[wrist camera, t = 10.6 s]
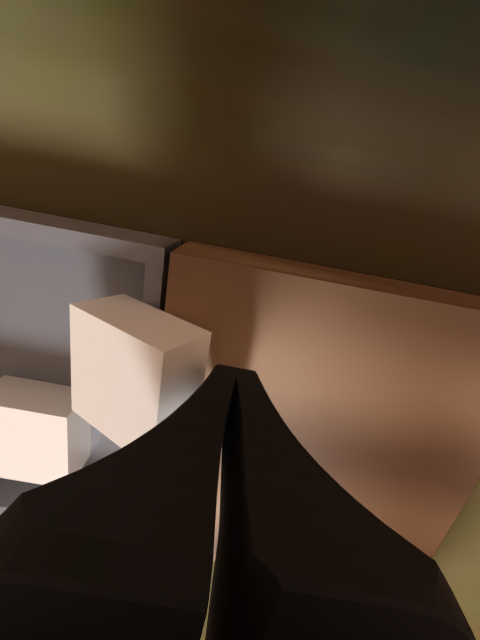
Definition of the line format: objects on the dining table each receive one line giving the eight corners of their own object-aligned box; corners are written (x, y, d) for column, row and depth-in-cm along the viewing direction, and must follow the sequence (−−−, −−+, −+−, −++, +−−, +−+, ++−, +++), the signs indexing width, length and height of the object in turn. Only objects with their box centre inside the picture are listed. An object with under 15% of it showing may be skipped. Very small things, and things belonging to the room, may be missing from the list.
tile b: (195, 436, 11) (151, 471, 9) (119, 387, 13) (71, 409, 11) (211, 332, 9) (163, 352, 8) (123, 293, 11) (69, 303, 10)
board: (385, 531, 18) (410, 593, 15) (159, 493, 17) (140, 549, 15) (503, 300, 13) (573, 328, 10) (188, 240, 12) (170, 252, 10)
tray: (153, 492, 17) (138, 537, 15) (-23, 463, 17) (-67, 504, 15) (181, 239, 12) (165, 248, 10) (-68, 192, 12) (-144, 190, 10)
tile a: (-21, 474, 14) (11, 442, 16) (68, 489, 14) (90, 455, 16) (-33, 400, 13) (4, 374, 14) (67, 417, 13) (90, 390, 15)
